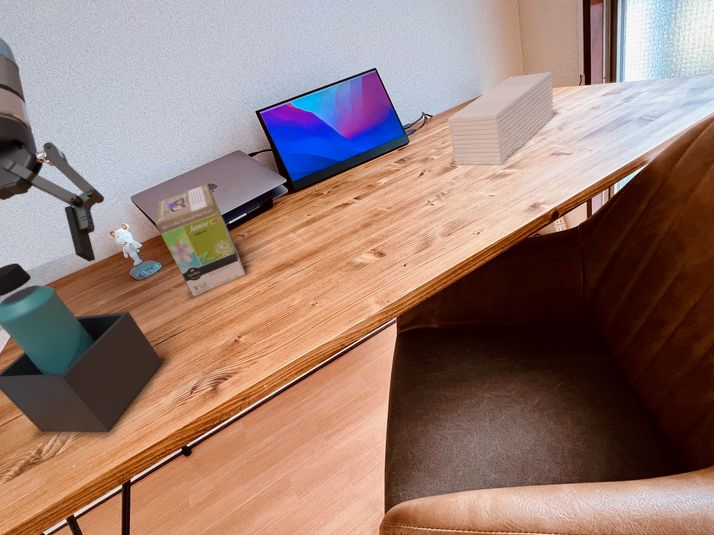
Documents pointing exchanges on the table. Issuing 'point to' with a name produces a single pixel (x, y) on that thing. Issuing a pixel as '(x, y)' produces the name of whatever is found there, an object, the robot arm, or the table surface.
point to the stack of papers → (501, 119)
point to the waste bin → (86, 379)
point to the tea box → (198, 239)
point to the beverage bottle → (40, 323)
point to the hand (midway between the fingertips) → (27, 278)
